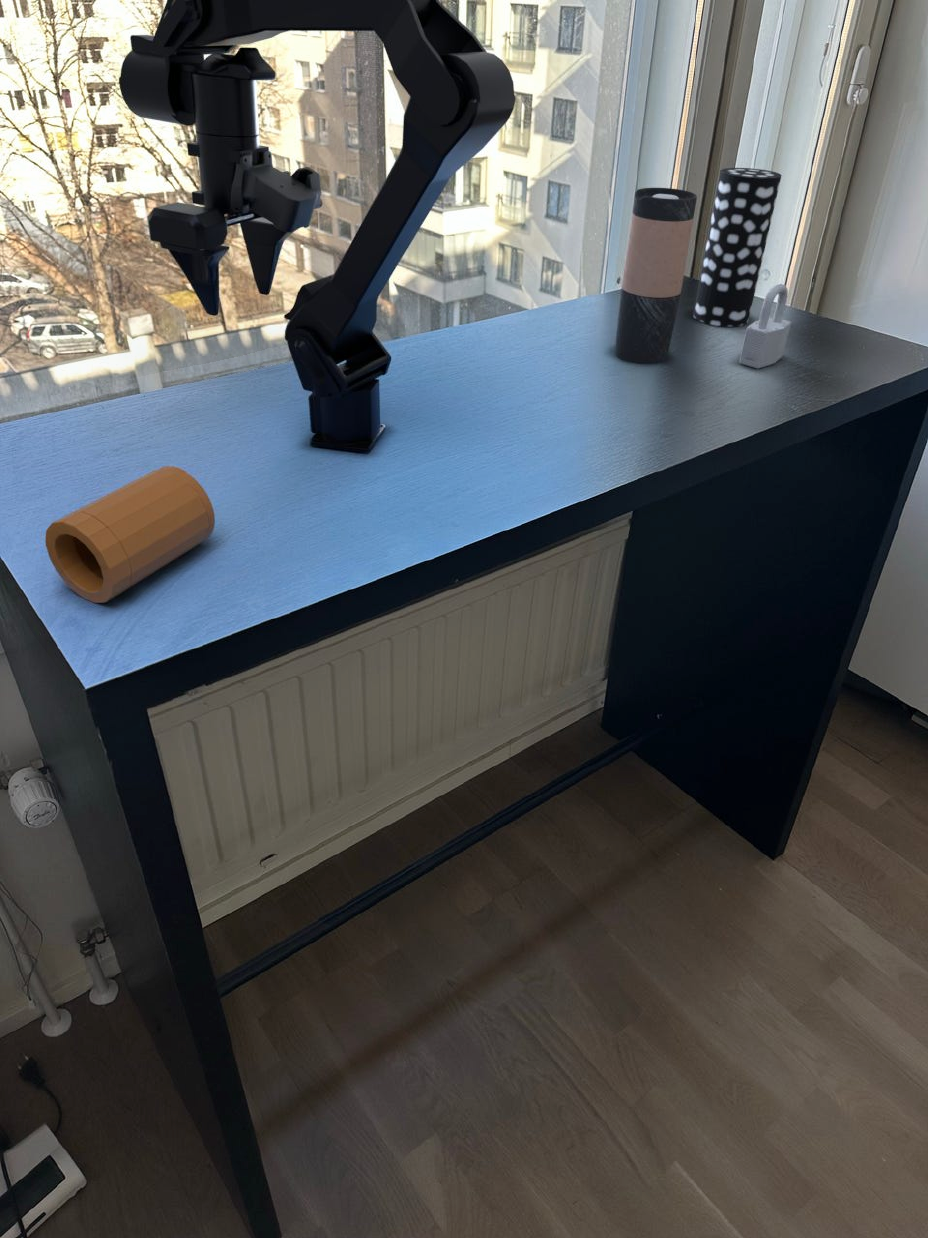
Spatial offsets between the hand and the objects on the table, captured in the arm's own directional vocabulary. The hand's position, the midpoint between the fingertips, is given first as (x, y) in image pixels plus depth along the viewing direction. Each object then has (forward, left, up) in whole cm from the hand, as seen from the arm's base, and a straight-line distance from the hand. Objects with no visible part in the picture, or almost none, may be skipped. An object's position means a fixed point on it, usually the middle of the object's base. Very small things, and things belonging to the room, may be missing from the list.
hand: (239, 304), depth 89 cm
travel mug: (-41, -34, -12) cm, 55 cm away
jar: (-6, +27, -9) cm, 28 cm away
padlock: (-57, -37, -12) cm, 69 cm away
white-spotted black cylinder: (-52, -55, -12) cm, 77 cm away
